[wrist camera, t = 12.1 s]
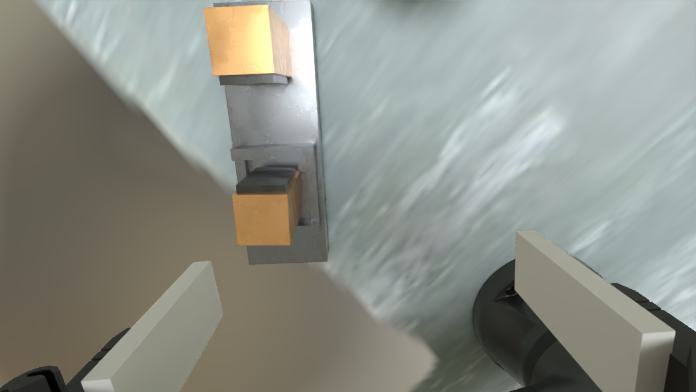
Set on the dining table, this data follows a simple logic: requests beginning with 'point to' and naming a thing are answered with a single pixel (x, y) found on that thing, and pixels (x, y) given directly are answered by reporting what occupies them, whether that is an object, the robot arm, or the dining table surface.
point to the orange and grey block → (268, 206)
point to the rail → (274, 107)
